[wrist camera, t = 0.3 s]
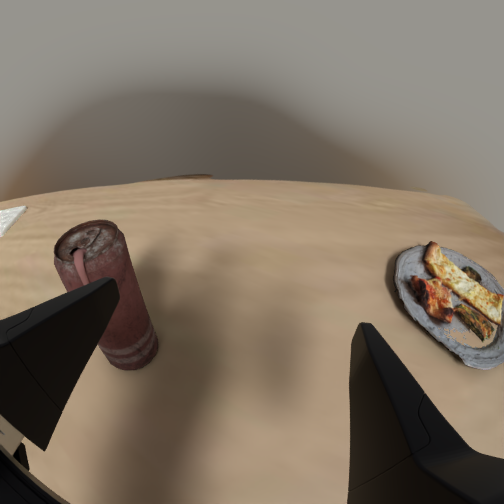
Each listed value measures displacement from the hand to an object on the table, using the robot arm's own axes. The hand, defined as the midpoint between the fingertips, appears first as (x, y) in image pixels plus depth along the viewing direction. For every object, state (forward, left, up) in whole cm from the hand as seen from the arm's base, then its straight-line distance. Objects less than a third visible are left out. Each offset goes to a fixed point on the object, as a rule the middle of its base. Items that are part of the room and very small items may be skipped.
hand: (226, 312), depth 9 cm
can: (+5, +13, -17) cm, 22 cm away
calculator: (+15, +73, -17) cm, 76 cm away
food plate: (+23, -27, -17) cm, 39 cm away
